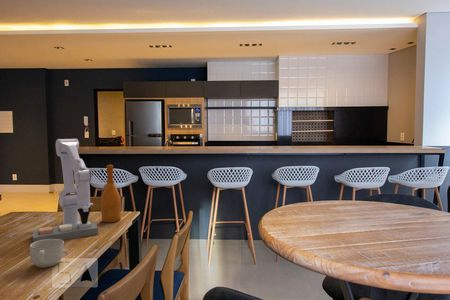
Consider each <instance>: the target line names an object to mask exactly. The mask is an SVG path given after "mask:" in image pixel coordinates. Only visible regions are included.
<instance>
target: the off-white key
mask: <svg viewBox="0 0 450 300" xmlns="http://www.w3.org/2000/svg"><path fill="white" fill-rule="evenodd" d="M58 227H59V230H60V232H61V231H68V230H72V225H71V224H65V225H63V224H60V225H58Z"/></svg>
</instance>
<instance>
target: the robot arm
mask: <svg viewBox="0 0 450 300" xmlns="http://www.w3.org/2000/svg"><path fill="white" fill-rule="evenodd" d="M79 148H80V141H79V140H78V138H64V139H63V138H57V139H56V141H55V151H56V156H57V157H60V161H61V169H62V177H63V189H62V190H60V192H59V194H58V204H59V206H60V207H61V208H62V213H63V214H62V215H63V220H62V221H61V222H62V223H61V224H62V225H65V224H71V225H73V224H78V223H81V222H82V224H87V222H88V221H89V216H90V213H91V210H92V209H91V206H94V203H93V202H91V188H90V186H91V185H90V182H91V181H92V171H91V169H89V168H88V167H87V166H86V164H85V161H84V160H83V158H80V155H79V152H78V151H79Z"/></svg>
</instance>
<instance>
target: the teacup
mask: <svg viewBox="0 0 450 300" xmlns="http://www.w3.org/2000/svg"><path fill="white" fill-rule="evenodd" d="M64 244H65V241H64V240H60V239H45V240H40V241H36V242H34V243H33V242H31V243H30V245H29V249H30V250H29V257H30V259H29V260H30V262H31V264H33V265H34V266H36V267H38V268H50V267H54V266H55V265H57V264H58V263H60V261H61V260H62V259H63V256H64V247H65V246H64Z"/></svg>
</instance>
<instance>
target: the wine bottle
mask: <svg viewBox="0 0 450 300" xmlns="http://www.w3.org/2000/svg"><path fill="white" fill-rule="evenodd" d="M106 174H107V180H106V183H104V185H103V187H102V188H103V189H102V190H103V192H102V195H101V200H100V203H101V204H100V207H101V208H100V209H101V210H100V211H101V220H102V222H103V223H116V222H119V221H121V219H122V218H121V217H122V204H121V203H122V202H121V195H120V192H119V191H118V188H117V187H116V184H115V181H114V165H113V164H106Z"/></svg>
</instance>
